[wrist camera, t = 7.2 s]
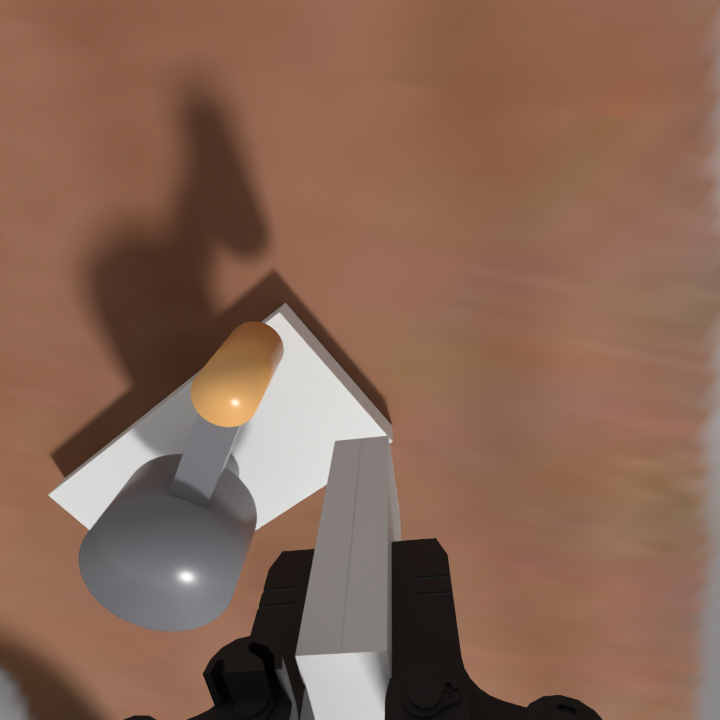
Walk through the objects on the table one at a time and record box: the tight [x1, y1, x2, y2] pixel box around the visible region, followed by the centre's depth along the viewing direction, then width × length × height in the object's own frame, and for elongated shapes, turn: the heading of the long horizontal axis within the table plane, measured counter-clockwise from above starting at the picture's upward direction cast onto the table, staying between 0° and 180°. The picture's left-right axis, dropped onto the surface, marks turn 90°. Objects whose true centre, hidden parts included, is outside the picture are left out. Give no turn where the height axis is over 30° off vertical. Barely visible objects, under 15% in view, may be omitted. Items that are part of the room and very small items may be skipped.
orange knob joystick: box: [79, 321, 284, 631], centre depth 28 cm, size 16×8×6 cm, turn 156°
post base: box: [49, 303, 393, 530], centre depth 34 cm, size 22×11×6 cm, turn 128°
